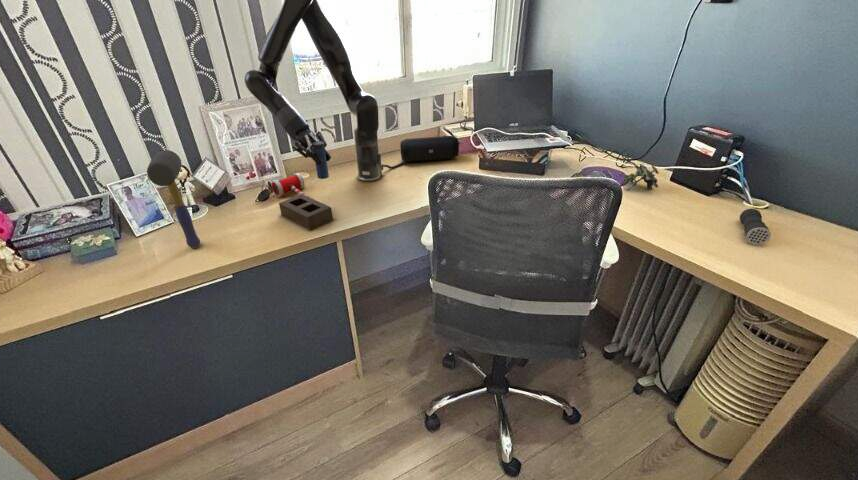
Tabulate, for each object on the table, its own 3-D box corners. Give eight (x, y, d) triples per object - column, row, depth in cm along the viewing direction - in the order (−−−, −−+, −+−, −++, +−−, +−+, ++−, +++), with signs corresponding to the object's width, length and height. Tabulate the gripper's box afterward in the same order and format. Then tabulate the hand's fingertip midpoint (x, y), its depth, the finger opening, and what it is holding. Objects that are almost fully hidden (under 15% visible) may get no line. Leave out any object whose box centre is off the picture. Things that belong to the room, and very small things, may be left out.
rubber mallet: (204, 254, 130) (169, 160, 113) (179, 258, 129) (140, 163, 111) (209, 235, 140) (178, 146, 122) (186, 239, 139) (150, 149, 121)
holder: (304, 206, 156) (301, 193, 153) (333, 220, 146) (331, 207, 143) (281, 215, 150) (278, 202, 147) (310, 230, 140) (307, 217, 137)
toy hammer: (330, 201, 159) (327, 185, 155) (303, 211, 152) (300, 195, 149) (297, 185, 172) (295, 170, 169) (272, 194, 166) (269, 179, 162)
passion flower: (643, 202, 160) (668, 184, 149) (619, 200, 157) (643, 182, 146) (635, 177, 164) (660, 158, 153) (612, 175, 161) (635, 155, 150)
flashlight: (735, 220, 135) (742, 205, 131) (755, 223, 133) (763, 208, 129) (743, 242, 124) (751, 226, 120) (765, 246, 122) (774, 230, 118)
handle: (324, 173, 151) (319, 140, 144) (331, 176, 149) (326, 142, 142) (315, 177, 149) (309, 143, 142) (322, 179, 147) (316, 145, 140)
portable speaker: (402, 165, 187) (402, 143, 181) (400, 158, 194) (399, 136, 189) (458, 161, 188) (459, 139, 182) (454, 154, 196) (455, 132, 190)
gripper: (282, 120, 135) (317, 162, 137) (310, 109, 145) (342, 148, 147) (273, 135, 140) (307, 175, 142) (301, 123, 150) (332, 161, 152)
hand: (325, 161), depth 145 cm, fingers closed on handle, 4 cm apart
